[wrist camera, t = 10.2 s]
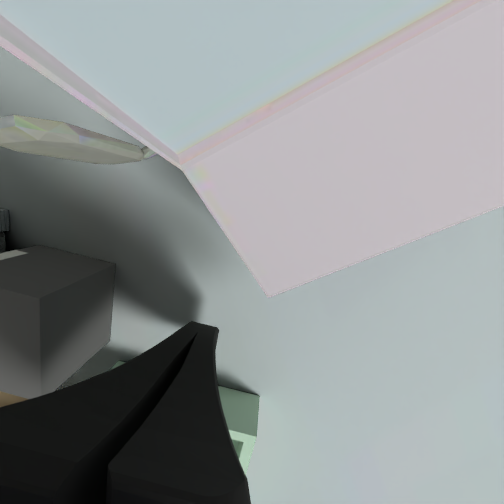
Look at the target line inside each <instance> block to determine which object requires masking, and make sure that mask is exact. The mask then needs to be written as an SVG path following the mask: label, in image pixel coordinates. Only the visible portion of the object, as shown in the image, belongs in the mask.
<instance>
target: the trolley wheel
mask: <svg viewBox="0 0 504 504" xmlns="http://www.w3.org/2000/svg"><path fill="white" fill-rule="evenodd" d="M8 230H10V226H9V211H8V210H5V209H1V208H0V253H4V252H6V244H5V234H4V233H3V232H2V231H8Z"/></svg>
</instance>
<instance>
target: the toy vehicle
mask: <svg viewBox="0 0 504 504" xmlns="http://www.w3.org/2000/svg"><path fill="white" fill-rule="evenodd" d="M0 46H1V47H3V48H4V49H6V50H7V51H9V52H10V53H12V54H13V55H14V56H16V57H17V58H19V59H20V60H22V61H23V62H25V63H26V64H28V65H29V66H31V67H32V68H33V69H35V70H36V71H38V72H39V73H41V74H42V75H44V76H45V77H47V78H48V79H49V80H51V81H52V82H54V83H55V84H57V85H58V86H60V87H61V88H63V89H64V90H65V91H67V92H68V93H70V94H71V95H73V96H74V97H76V98H77V99H79V100H80V101H81V102H83V103H84V104H86V105H87V106H89V107H90V108H92V109H93V110H95V111H96V112H97V113H99V114H100V115H102V116H103V117H105V118H106V119H108V120H109V121H111V122H112V123H114V124H115V125H116V126H118V127H119V128H121V129H122V130H124V131H125V132H127V133H128V134H130V135H131V136H132V137H134V138H135V139H137V140H138V141H140V142H141V143H143V144H144V145H146V147H144V148H142V149H141V148H140V147H139V146H136V145H133V144H130V143H127V142H124V141H121V140H117V139H114V138H111V137H108V136H105V135H102V134H99V133H96V132H92V131H89V130H86V129H83V128H80V127H77V126H74V125H71V124H67V123H64V122H59V121H52V120H45V119H39V118H32V117H25V116H19V115H9V116H3V117H0V146H2V147H5V148H8V149H11V150H14V151H18V152H24V153H30V154H37V155H43V156H50V157H56V158H62V159H69V160H75V161H82V162H88V163H94V164H120V163H128V162H136V161H141V160H144V159H148V158H150V157H153V156H155V155H157V154H159V155H160V156H162V157H163V158H164V159H166V160H167V161H169V162H170V163H172V164H173V165H175V166H176V167H178V168H179V169H181V170H182V171H183V173H184V174H185V176H186V177H187V178H188V180H189V181H190V183H191V184H192V186H193V187H194V189H195V190H196V192H197V193H198V195H199V196H200V198H201V199H202V201H203V202H204V204H205V205H206V207H207V208H208V210H209V211H210V213H211V214H212V216H213V217H214V218H215V220H216V221H217V223H218V224H219V226H220V227H221V229H222V230H223V232H224V233H225V235H226V236H227V238H228V239H229V241H230V242H231V244H232V245H233V247H234V248H235V250H236V251H237V253H238V254H239V256H240V257H241V259H242V260H243V261H244V263H245V264H246V266H247V267H248V269H249V270H250V272H251V273H252V275H253V276H254V278H255V279H256V281H257V282H258V284H259V285H260V287H261V288H262V290H263V291H264V293H265V294H266V296H267V297H268V298H270V297H272V296H275V295H277V294H280V293H283V292H285V291H288V290H290V289H293V288H295V287H298V286H300V285H303V284H306V283H308V282H311V281H313V280H316V279H318V278H321V277H323V276H326V275H329V274H331V273H334V272H336V271H339V270H341V269H344V268H346V267H349V266H352V265H354V264H357V263H359V262H362V261H364V260H367V259H369V258H372V257H375V256H377V255H380V254H382V253H385V252H387V251H390V250H392V249H395V248H398V247H400V246H403V245H405V244H408V243H410V242H413V241H415V240H418V239H420V238H423V237H426V236H428V235H431V234H433V233H436V232H438V231H441V230H443V229H446V228H449V227H451V226H454V225H456V224H459V223H461V222H464V221H466V220H469V219H472V218H474V217H477V216H479V215H482V214H484V213H487V212H489V211H492V210H495V209H497V208H500V207H502V206H504V0H0Z"/></svg>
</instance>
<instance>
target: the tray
mask: <svg viewBox="0 0 504 504" xmlns="http://www.w3.org/2000/svg"><path fill="white" fill-rule="evenodd" d="M124 363H126V362H122V361H118V362H117V363H116V364H115V365H114V366H113V367H112V368H111V369H114V368H116V367H118V366H120V365H122V364H124ZM111 369H110V370H111ZM218 389H219V394H220V399H221V404H222V408H223V412H224V416H225V419H226V423H227V426H228V429H229V433H230V436H231V439H232V442H233V445H234V448H235V450H236V453H237V456H238V458H239V461H240V463H241V466H242V468H243V471H244V473H245V475H246V472H247V469H248V465H249V462H250V458H251V455H252V451H253V448H254V444H255V441H256V437H257V424H258V411H259V397H260V396H257V395H253V394H249V393H245V392H241V391H237V390H233V389H229V388H225V387H221V386H218Z"/></svg>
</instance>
